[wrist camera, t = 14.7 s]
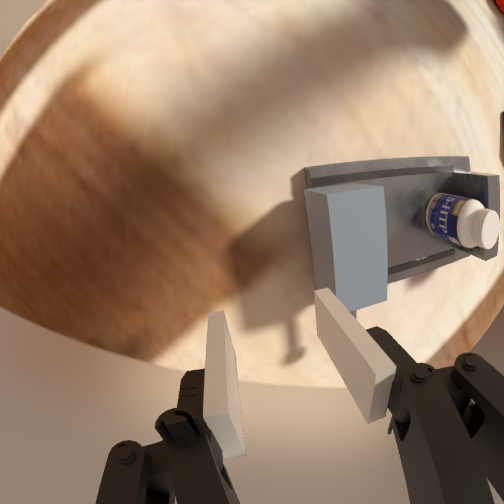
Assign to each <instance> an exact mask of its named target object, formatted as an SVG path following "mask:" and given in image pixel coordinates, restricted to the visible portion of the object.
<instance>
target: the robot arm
mask: <svg viewBox="0 0 504 504" xmlns="http://www.w3.org/2000/svg"><path fill="white" fill-rule="evenodd" d="M314 299H315V311H316V323H317V335H318V337H319V339H320V340H321V342H322V344H323V346H324V347H325V349H326V351H327V353H328V354H329V356H330V358H331V360H332V361H333V363H334V365H335V367H336V368H337V370H338V372H339V374H340V375H341V377H342V379H343V381H344V382H345V384H346V386H347V388H348V390H349V391H350V393H351V395H352V397H353V398H354V400H355V402H356V404H357V406H358V407H359V409H360V411H361V412H362V414H363V416H364V418H365V420H366V422H367V423H371V422H373V421H376V420H378V419H381V418H383V417H385V416H386V412H387V408H389V410H390V412H391V413H392V418H391V422H390V425H389V428H388V434H391V431H392V428H393V431H394V435H395V439H396V443H397V446H398V450H399V454H400V458H401V462H402V467H403V471H404V475H405V480H406V484H407V489H408V494H409V499H410V504H495V503H494V500H493V497H492V494H491V490H490V487H489V484H488V481H487V479H488V480H489V481H490V483H491V484H492V486H493V487H494V488H495V490H496V491H497V493H498V494H499V496H500V497H501V498H502V500H503V501H504V376H503V375H502V374H501V373H500V372H498V371H497V370H496V369H495V368H494V367H493V366H492V365H490V364H489V363H488V362H487V361H486V360H484V359H483V358H482V357H481V356H479V355H478V354H475V353H471V352H470V353H463V354H461V355H459V356H458V357H457V358H456V361H455V363H454V366H450V367H445V368H441V369H434V367H432V366H430V365H428V364H425V363H416V361H415V360H414V359H413V358H412V357H411V356H410V355H409V354H408V353H407V352H406V351H405V350H404V349H403V348H402V347H401V346H400V345H399V344H398V342H397V341H396V340H395V339H393V337H392V336H391V335H390V334H389V333H388V332H387V331H386V330H384V329H381V328H379V327H377V326H376V327H373V328H370V329H367V330H365V329H364V328H363V327H362V325H361V324H360V323H359V322H358V321H357V320H356V319H355V317H354V316H353V315H352V314H351V313H350V312H349V311H348V309H347V308H346V307H345V306H344V305H343V304H342V303H341V302H340V300H339V299H338V298H337V297H336V296H335V295H334V294H333V293H332V292H331V290H330V289H329V288H324V289H319V290H315V291H314ZM471 399H473V401H474V402H475V403H473V402H471ZM155 429H156V430H157V431H158V433H159V434H160V436H161V437H162V439H163V440H162V441H160V442H157V443H154V444H150V445H147V446H143V447H142V446H141V445H140V444H139V443H137V442H135V441H130V440H128V441H122V442H120V443H117V444H116V445H115V446H114V447H113V448H112V449H111V451H110V453H109V455H108V459H107V462H106V466H105V469H104V473H103V476H102V480H101V484H100V488H99V492H98V496H97V500H96V504H175V496H176V500H177V504H240V502H239V500H238V497H237V495H236V493H235V490H234V488H233V485H232V483H231V480H230V478H229V475H228V473H227V470H226V468H225V466H224V465H223V458H222V453H223V455H224V457H225V458H226V459H227V458H236V457H243V456H246V450H245V440H244V433H243V424H242V415H241V405H240V397H239V387H238V376H237V366H236V356H235V351H234V347H233V343H232V340H231V336H230V332H229V328H228V324H227V321H226V317H225V313H224V310H222V311H217V312H212V313H209V316H208V329H207V344H206V361H205V369H199V370H191V371H187V372H186V373H185V375H184V376H183V378H182V379H181V384H180V391H179V398H178V404H177V408H173V409H170V410H167V411H165V412H164V413H162V414H161V415H160V416H159V417H158V419H157V420H156V423H155ZM486 477H487V479H486Z"/></svg>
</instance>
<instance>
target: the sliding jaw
mask: <svg viewBox="0 0 504 504" xmlns="http://www.w3.org/2000/svg"><path fill="white" fill-rule="evenodd" d="M303 192H304V198H305V205H306V212H307V220H308V227H309V235H310V243H311V252H312V261H313V270H314V280H315V288H316V289H317V290H319V289H324V288H329V289H330V290H331V292H332V293H333V294H334V295H335V296H336V297H337V298H338V299H339V300H340V302H341V303H342V304H343V305H344V306H345V307H346V308H347V309H348V311H349V312H350V313H351V314H352V315H353V316H354V317H355V319H356V310H357V309H361V308H364V307H367V306H371V305H374V304H377V303H380V302H383V301H386V300H387V276H388V256H387V225H386V209H385V197H384V186H377V185H368V184H359V183H344V184H337V185H330V186H323V187H316V188H310V189H304V190H303Z"/></svg>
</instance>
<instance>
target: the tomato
mask: <svg viewBox="0 0 504 504" xmlns="http://www.w3.org/2000/svg"><path fill="white" fill-rule="evenodd" d="M495 1H496V3H497V6H498V7H499V9H500V10H501V11H502V12H503V14H504V0H495Z"/></svg>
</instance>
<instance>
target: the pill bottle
mask: <svg viewBox="0 0 504 504" xmlns="http://www.w3.org/2000/svg"><path fill="white" fill-rule="evenodd" d="M426 223H427V226H428V228H429V230H430V231H431V232H432V233H433V234H434V235H437V236H439V237H441V238H444V239H447V240H449V241H451V242H454V243H456V244H459V245H461V246H464V247H467V248H473V247H475V246H477V245H478V246H479V247H482V248H485V249H490V248H492V247H493V246H494V244H495V243H496V241H497V238H498V235H499V230H500V221H499V217H498V214H497V213H496V212H495V211H493V210H490V209H486V208H484V206H483V205H482V204H481V203H480V202H479V201H477V200H474V199H470V198H465V197H460V196H455V195H450V194H445V193H438V194H436V195H434V196H433V197H432V198H431V200H430V201H429V203H428V206H427V209H426Z"/></svg>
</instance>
